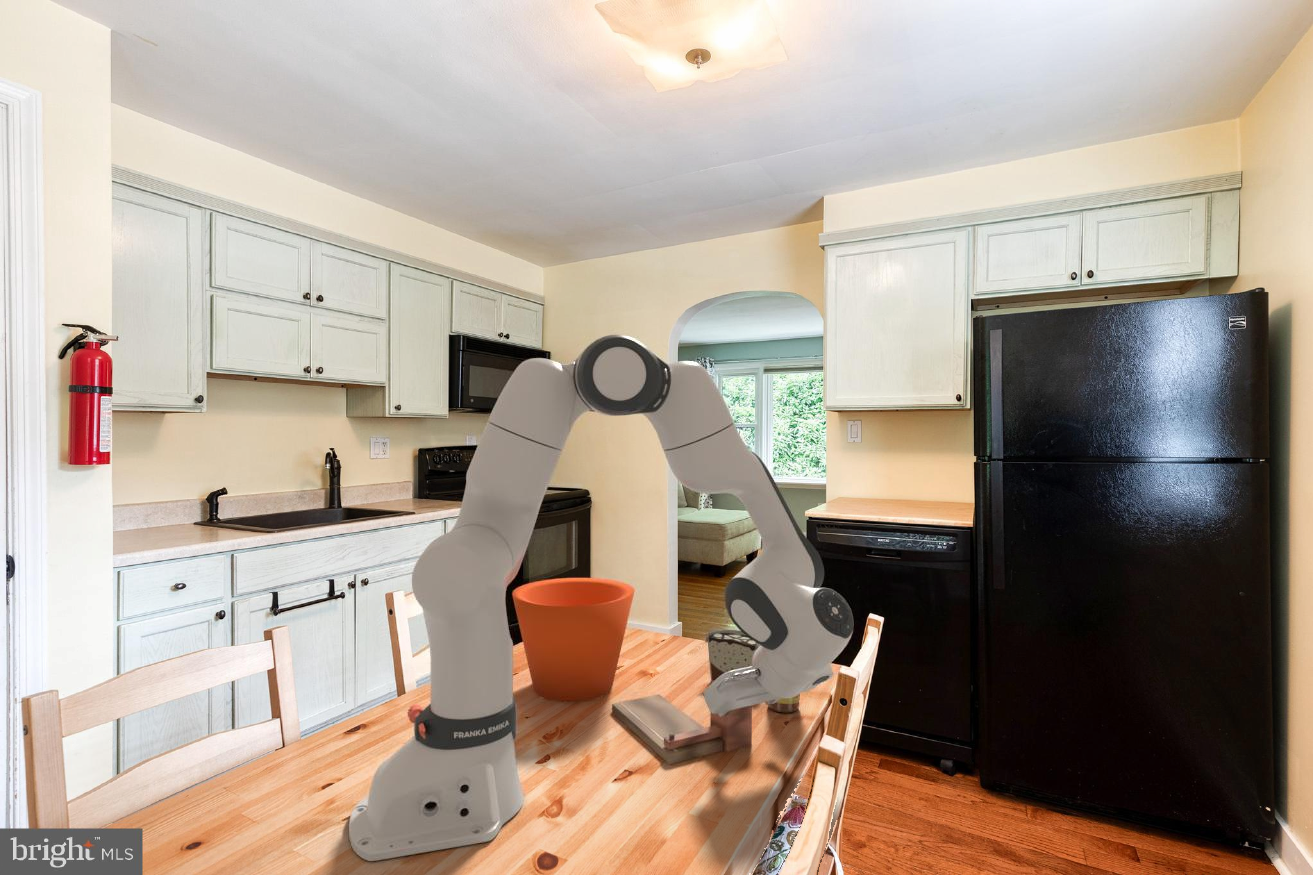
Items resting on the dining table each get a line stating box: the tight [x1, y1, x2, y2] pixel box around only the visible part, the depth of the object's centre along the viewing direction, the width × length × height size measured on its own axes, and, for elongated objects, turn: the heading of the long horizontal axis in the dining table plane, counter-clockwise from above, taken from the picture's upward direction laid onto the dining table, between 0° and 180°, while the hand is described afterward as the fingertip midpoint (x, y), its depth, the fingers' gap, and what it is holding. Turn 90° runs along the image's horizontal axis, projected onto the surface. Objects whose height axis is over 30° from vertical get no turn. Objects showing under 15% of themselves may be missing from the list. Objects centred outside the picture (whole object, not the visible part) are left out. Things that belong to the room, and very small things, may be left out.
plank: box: [611, 694, 724, 765], centre depth 113 cm, size 10×22×2 cm, turn 28°
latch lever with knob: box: [664, 705, 753, 752], centre depth 106 cm, size 15×5×9 cm, turn 118°
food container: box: [704, 629, 760, 683], centre depth 136 cm, size 12×6×10 cm, turn 58°
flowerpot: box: [511, 577, 635, 703], centre depth 133 cm, size 25×25×20 cm
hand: (744, 705), depth 107 cm, fingers open, 8 cm apart
